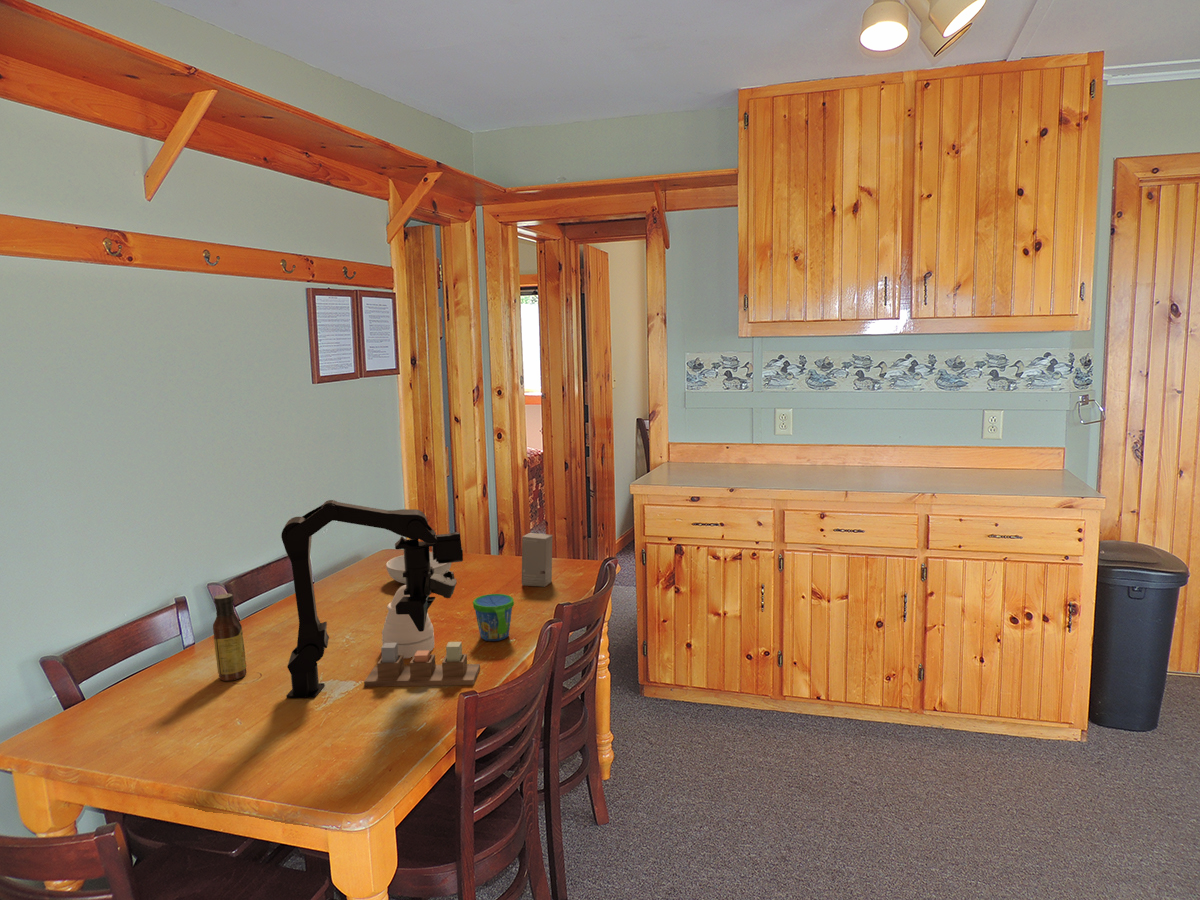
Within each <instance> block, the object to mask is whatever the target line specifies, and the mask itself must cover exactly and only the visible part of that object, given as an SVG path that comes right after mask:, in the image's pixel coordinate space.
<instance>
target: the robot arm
mask: <svg viewBox="0 0 1200 900" xmlns="http://www.w3.org/2000/svg"><path fill="white" fill-rule="evenodd" d="M334 521H335V522H340V523H347V524H352V525H359V526H365V527H372V528H379V529H383V530H387V531H389V532H392V533H394V534H396V535H399V536H400V538H399V539H398V540H397V541H396V542H395V544H394V548H395V550H403V555H404V564H405V571H404V572H403V577H405V579H406V584H405V585H406V589H405V590H404V595H410V597H403V598H402V599H401V600H400V601H399V602H398V603H397V605H396V614H398V615H400V614H409V616H410V617H411V619H412V620H413V622H414V624H415V626H416V627H417V629H418V631H420V632H421V631H424V628H425V623H426V617H427V613H428V612H429V608H430V607H431V606H432V604H433V603H434V601H435V600H436V597H435V596H430V595H431V594H432V593H433V594H435V595H438V596H441V597H443V598H445V599H450V598H452V595H453V594H454V592H455V589H456V585H457V578H455V575H454V574H455V573H454V571H451V570H447V571H446V572H445V573H444V574H443V575H442V574H440V575H438V574H434V568H433V567H430V553H429V552H430V547H431V552H432V555H433V560H435V559H436V562H438V564H442V563H451V564H452V563H461V562H462V563H463V562H464V551H463V547H462V541H461V539H462V538H461V533H460V532H459V531H456V532H454V531H453V532H451V533H443V534H436V531H435V530H434V529H433V528H432V527H431V526H430V525H429V522H428V517H427V515H426V514H425V513H424V512H423V511H422V510H419V509H406V508H403V509H393V510H388V509H381V508H377V507H369V506H363V505H357V504H352V503H346V502H341V501H340V502H339V501H337V500H334V499H329V500H326V501H324V503H322V504H321V505H319V506H318V507H316V508H313V509H311V511H308V512H307V513H306V514H304V515H303V516H294V517H292V518H290V519H289V520H288V521H287V522H286V524H285V525H284V527H283V528H282V531H281V535H280V536H281V537H280V538H281V541H282V543H283V546H284V550H285V552H286V555H287V557H288V559H289V561H290V564H291V571H292V578H293V584H294V585H293V587H294V593H295V600H296V608H297V615H298V616H297V617H298V632H297V641H296V644H297V645H296V647H294V649H292V651H291V653H290V656H289V657H290V658H289V660H288V663H287V666H286V667H287V669H288V671H289V674H290V681H291V690H290V691H289V692H287V694H286V697H285V698H287V699H294V698H295V699H296V698H297V699H300V698H302V699H303V698H304V699H305V698H312V699H313V698H315V697H317V695H318V694H319V693H320V692H321V691H322V689H323V688H324V687H325V685H326V684H325V683H320V682H319V669H318V662H319V661H320V660H321V659H322V658H323V657H324V655H325V651H326V649H327V648H328V645H329V639H330V636H329V634H328V632H327V625H328V623H327V622H328V621H323V622H321V620H320V619H319V616H318V611H317V604H316V595H315V587H314V581H313V580H314V579H313V574H312V573H313V572H312V564H311V548H312V537H313V535H314V534H316V533H318V531H320V530H322V528H324V527H325V526H326V525H328V524H330V522H334ZM419 540H421V541H419Z"/></svg>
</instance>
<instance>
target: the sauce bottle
mask: <svg viewBox="0 0 1200 900" xmlns="http://www.w3.org/2000/svg"><path fill="white" fill-rule="evenodd" d="M213 600H214V602H213V603H214V604H215V610H216V618H215V619H214V621H213V624H212V630H213V643H214V644H213V645H214V651H215V652H214V653H215V661H216V666H217V667H216V668H217V674H218V678H219V679H220V681H223V682H231V681H232V682H233V681H236V680H239V679H241V678H244V677H245V676H246V675H247V659H246V651H245V642H244V636H243V635H244V634H243V632H244V631H243V628H242V627H243V626H242V624H241V621H240V620H239V618H238V617H237V614H236V612H235V607H234V595H233V594H232V593H221V594H217V595H216V596H214V597H213Z"/></svg>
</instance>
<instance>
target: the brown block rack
mask: <svg viewBox="0 0 1200 900" xmlns="http://www.w3.org/2000/svg"><path fill="white" fill-rule="evenodd" d="M398 657H399V659H398V661H397V662H385V663H382V656H381V657H380V659H379V660H378V662H377V663H376V665H375V666H373V668H372V670H371V671H370V673H369V674H367V676H366V678H365V679H364V681H363V686H364V687H420V686H421V687H424V686H425V687H426V686H428V687H429V686H430V687H431V686H433V687H434V686H438V687H439V686H474V685H475V682H476V680H477V678H478V675H479V673H480V670H481V664H480V663H469V664H468V654H467V653H462V661H454V662H447V655H446V654H445V656H444V658H443V659H442V662H441V664H436V654H430V660H429V662H414V657H413V658H411V660H410V662H409V664H405V661H404V660H405V658H403V655H398Z"/></svg>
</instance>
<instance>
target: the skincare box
mask: <svg viewBox="0 0 1200 900" xmlns="http://www.w3.org/2000/svg"><path fill="white" fill-rule="evenodd" d="M521 539H522V540H521V541H522V543H521V546H522V547H521V585H522V586H527V587H528V586H529V587H543V588H545V587H547V586H549V584H551V583H552V580H553V579H552V578H553V577H552V576H553V575H552V574H553V572H552V571H553V534H547V533H546V534H545V533H535V532H528V533H527V534H524V535H522V538H521Z"/></svg>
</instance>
